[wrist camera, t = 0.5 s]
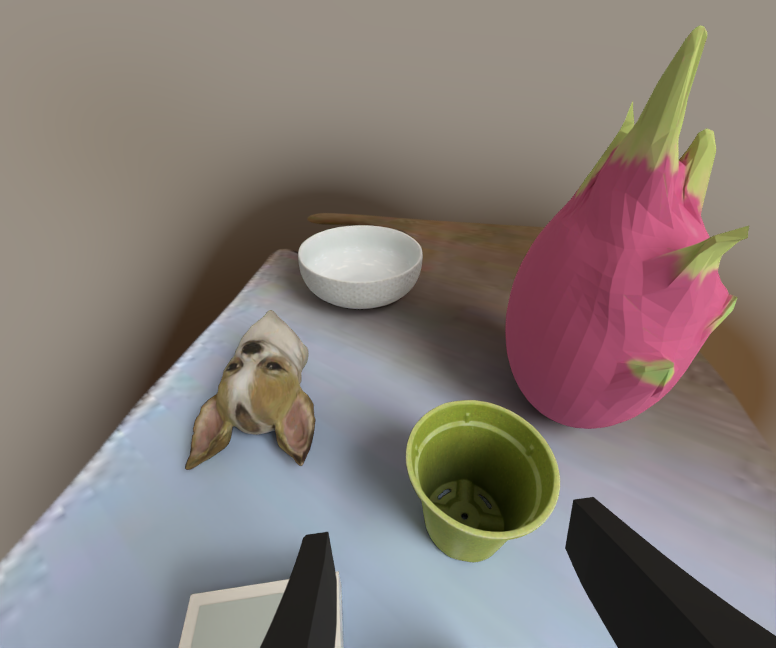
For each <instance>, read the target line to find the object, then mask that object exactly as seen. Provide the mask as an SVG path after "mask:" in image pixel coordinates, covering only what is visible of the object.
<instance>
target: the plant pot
mask: <svg viewBox="0 0 776 648" xmlns="http://www.w3.org/2000/svg"><path fill="white" fill-rule="evenodd" d="M406 466H407V471H408V475H409V478H410V481H411V483H412V486H413V488H414V490H415V492H416V493H417V495H418V497H419V498H420V499H421V501H422V506H423V513H424V520H425V524H426V528H427V531H428V533H429V535H430V537H431V539H432V541H433V542H434V543H435V545H436V546H437V547H438V548H439V549H440V550H441V551H442V552H444V553H445V554H446V555H448V556H449V557H451V558H454V559H458V560H462V561H467V562H479V561H483V560H485V559H487V558H489V557H491V556H492V555H493V554H494V553H495V552H496V551H497V550H498V549H499V548H500V547H501V546H502V545H503V544H504V543H505V542H506V541H507V540H510V539H515V538H519V537H522V536H524V535H527V534H529V533H531V532H533V531H534V530H536V529H537V528H538V527H540V526H541V525H542V524H543V523H544V522H545V521H546V519H547V518H548V517H549V516H550V514H551V513H552V511H553V509H554V507H555V505H556V503H557V500H558V496H559V491H560V475H559V470H558V465H557V462H556V459H555V457H554V454H553V452H552V450H551V448H550V447H549V445H548V444H547V442H546V441H545V439H544V438H543V437H542V436H541V434H540V433H539V432H538V431H537V430H536V429H535V428H534V427H533V426H532V425H531V424H530V423H528V422H527V421H526V420H524V419H523V418H521V417H520V416H519V415H517V414H515V413H514V412H512V411H510V410H507V409H505V408H503V407H500V406H498V405H495V404H492V403H488V402H483V401H477V400H462V401H454V402H449V403H445V404H442V405H440V406H438V407H436V408H434V409H432V410H430V411H429V412H428V413H426V414H425V415H424V416H423V417H422V418H421V419H420V420H419V421H418V422H417V423H416V425H415V426H414V428H413V429H412V431H411V434H410V436H409V439H408V443H407V448H406ZM446 489H451V492H450V493H448V494H446V495H445V496H443V497H442V498H441V499H440V500H439V499H438V495H440V494H441V493H442V492H443V491H444V490H446ZM478 495H482V496H483V497H485V498H486V499H487V500H488V501H489V502H490V504H491V506H492V508H491V509H489V508H488V507H487V505H486V504H485V503H484V501H483V500H482V499H481V497H479V496H478ZM463 513H466V514H467V515H468V518H467V519H465V520H464V519H463V518H462V517H461V515H462V514H463Z"/></svg>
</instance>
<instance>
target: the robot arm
mask: <svg viewBox="0 0 776 648" xmlns="http://www.w3.org/2000/svg"><path fill="white" fill-rule="evenodd" d="M565 549H566V551H567V553H568V555H569V558H570V560H571V562H572V565H573V567H574V569H575V571H576V573H577V575H578V578H579V580H580V582H581V584H582V586H583V588H584V590H585V592H586V593H587V595H588V597H589V599H590V601H591V602H592V604H593V606H594V607H595V609H596V611H597V613H598V614H599V616H600V618H601V620H602V621H603V623H604V625H605V626H606V628H607V630H608V632H609V633H610V635H611V637H612V638H613V640H614V642H615V644H616V645H617V647H618V648H776V636H775V635H774V634H772V633H771V632H769V631H768V630H766V629H765V628H763V627H762V626H760V625H759V624H757V623H756V622H754V621H753V620H751V619H750V618H748V617H747V616H745V615H744V614H743V613H741V612H740V611H738V610H737V609H735V608H734V607H733V606H731V605H730V604H728V603H727V602H726V601H724V600H723V599H722V598H720V597H719V596H717V595H716V594H715V593H713V592H712V591H711V590H709V589H708V588H707V587H705V586H704V585H702V584H701V583H700V582H698V581H697V580H696V579H694V578H693V577H692V576H691V575H689V574H688V573H687V572H685V571H684V570H683V569H681V568H680V567H679V566H678V565H676V564H675V563H674V562H672V561H671V560H670V559H669V558H667V557H666V556H665V555H664V554H662V553H661V552H660V551H658V550H657V549H656V548H655V547H654V546H652V545H651V544H650V543H649V542H647V541H646V540H645V539H644V538H642V537H641V536H640V535H639V534H638V533H636V532H635V531H634V530H633V529H631V528H630V527H629V526H628V525H627V524H625V523H624V522H623V521H622V520H621V519H619V518H618V517H617V516H616V515H615V514H613V513H612V512H611V511H610V510H609V509H607V508H606V507H605V506H604V505H602V504H601V503H600V502H599V501H598V500H596V499H595V498H594V497H590V498H582V499H575V500H573V505H572V511H571V517H570V523H569V529H568V535H567V541H566V547H565ZM336 627H337V578H336V573H335V567H334V561H333V556H332V550H331V545H330V539H329V533H328V532H324V533H316V534H309V535H306V536H305V537H304V538H303V540H302V544H301V547H300V550H299V553H298V556H297V559H296V562H295V565H294V568H293V571H292V573H291V576H290V578H289V581H288V584H287V586H286V589H285V591H284V594H283V596H282V599H281V601H280V603H279V606H278V608H277V610H276V613H275V615H274V617H273V620H272V622H271V624H270V627H269V629H268V631H267V633H266V636H265V638H264V640H263V642H262V644H261V646H260V648H335V639H336Z"/></svg>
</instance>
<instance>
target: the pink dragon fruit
mask: <svg viewBox="0 0 776 648" xmlns="http://www.w3.org/2000/svg"><path fill="white" fill-rule="evenodd" d="M706 39H707V32H706V30H705V28H704V26H698V27H696V28H695V29H694V30H693V31H692V32H691V33H690V34H689V36H688V37H687V38H686V39H685V41H684V43H683V44H682V46H681V47H680V49H679V50H678V52H677V53H676V55H675V57H674V58H673V60H672V61H671V63H670V64H669V66H668V67H667V69H666V71H665V72H664V74H663V75H662V77H661V79H660V80H659V81H658V83H657V85H656V87H655V89H654V91H653V93H652V95H651V97H650V98H649V100H648V102H647V104H646V106H645V108H644V110H643V112H642V114H641V115H640V117H639V120H638V121H637V123H636V124H635V125H634V115H633V102H632V104H631V107H630V109H629V112H628V114H627V117H626V120H625V122H624V123H623V125H622V127H621V129H620V131H619V132H618V134H617V135H616V137H615V138H614V140H613V141H612V143H611V144H610V146H609V147H608V148H607V150H606V151H605V152H604V154H603V155H602V157H601V158H600V160H599V161H598V163H597V164H596V165H595V167H594V168H593V169H592V171H591V172H590V174H589V175H588V176H587V177H586V179H585V180H584V182H583V183H582V185H581V186H580V187H579V189H578V190H577V191H576V193H575V194H574V196H573V197H572V198H571V200H570V201H569V202H568V203H567V204H566V205H565V206H564V207H563V208H562V209H561V210H560V211H559V212H558V213H557V214H556V215H555V216H554V218H553V219H552V220H551V221H550V222H549V223H548V224H547V225H546V227H545V228H544V229H543V230H542V232H541V233H540V234H539V235H538V237H537V238H536V240H535V241H534V242H533V244H532V246H531V247H530V249H529V251H528V252H527V254H526V256H525V258H524V260H523V262H522V264H521V265H520V268H519V270H518V272H517V275H516V277H515V280H514V283H513V286H512V290H511V294H510V298H509V303H508V308H507V314H506V330H505V333H506V348H507V355H508V359H509V363H510V367H511V370H512V373H513V376H514V378H515V380H516V382H517V384H518V386H519V388H520V390H521V391H522V393H523V394H524V396H525V397H526V399H527V400H528V401H529V402H530V403H531V404H532V405H533V406H534V407H535V408H536V409H537V410H538V411H539V412H540V413H542V414H543V415H545V416H546V417H548V418H549V419H551V420H553V421H555V422H558V423H560V424H563V425H566V426H570V427H574V428H586V429H592V428H603V427H608V426H612V425H615V424H618V423H621V422H624V421H627V420H629V419H631V418H633V417H635V416H637V415H639V414H640V413H642V412H644V411H645V410H646V409H648V408H649V407H651V406H652V405H654V404H655V403H656V402H658V401H659V400H660V399H661V398H662V397H664V396H665V395H666V394H667V393H668V392H669V391H670V390H671V389H672V388H673V386H674V385H675V384H676V383H677V382H678V380H679V379H680V378H681V376H682V375H683V374H684V372H685V371H686V370H687V368H688V367H689V365H690V364H691V362H692V361H693V359H694V357H695V356H696V354H697V353H698V351H699V350H700V348H701V347H702V345H703V344H704V342H705V341H706V339H707V338H708V336H709V335H710V333H711V332H712V331H713V330H714V329H715V328H716V327H717V326H718V325H719V324H720V323H721V322H722V321H723V320H724V319H725V318H726V317H727V316H728V315H729V314H730V313H731V312H732V310H733V308H734V305H735V303H736V299H737V297H735V296H733V295H730V294H728V291H727V289H726V288H725V287H724V285H723V284H722V282H721V280H720V277H719V275H718V267H719V263H720V259H721V257H722V255H723V254H724V253H725V252H727V251H728V250H729V249H730V248H731V247H733V246H734V245H735V244H736V243H737V242H739V241H741V240H743V239H746V238H748V230H749V226H746V227H743V228H739V229H736V230H732V231H729V232H725V233H722V234H718V235H715V236H713V237H709V235H708V233H707V231H706V229H705V227H704V224H703V221H702V218H701V216H700V215H701V210H702V206H703V202H704V198H705V194H706V190H707V186H708V182H709V178H710V174H711V169H712V166H713V161H714V157H715V153H716V145H715V138H714V132H713V131H711V130H709V129H705V130H703V131H701V132H699V133H698V134H697V136H696V137H695V139H694V141H693V142H692V144H691V145H690V146H689V148H688V149H687V151H686V152H685V153H684V154H683V156H682V157H681V158H680V159H678V138H679V134H680V131H681V127H682V123H683V120H684V115H685V110H686V105H687V100H688V96H689V92H690V89H691V86H692V83H693V80H694V77H695V74H696V71H697V67H698V64H699V61H700V58H701V55H702V52H703V48H704V45H705V42H706Z"/></svg>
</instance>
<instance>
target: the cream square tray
mask: <svg viewBox="0 0 776 648" xmlns="http://www.w3.org/2000/svg"><path fill="white" fill-rule="evenodd" d="M335 573H336V578H337V627H336V639H335V648H343V619H342V590H341V581H340V576H339V571H338V572H335ZM288 581H289V579H287V580H280V581H274V582H268V583H261V584H255V585H248V586H242V587H236V588H229V589H223V590H216V591H210V592H204V593H197V594H191V597H190V601H189V605H188V609H187V614H186V618H185V622H184V626H183V631H182V635H181V639H180V643H179V648H260V646H261V644H262V642H263V640H264V638H265V636H266V633H267V631H268V629H269V627H270V624H271V622H272V620H273V617H274V615H275V613H276V610H277V608H278V606H279V603H280V601H281V599H282V596H283V594H284V591H285V589H286V586H287V584H288Z"/></svg>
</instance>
